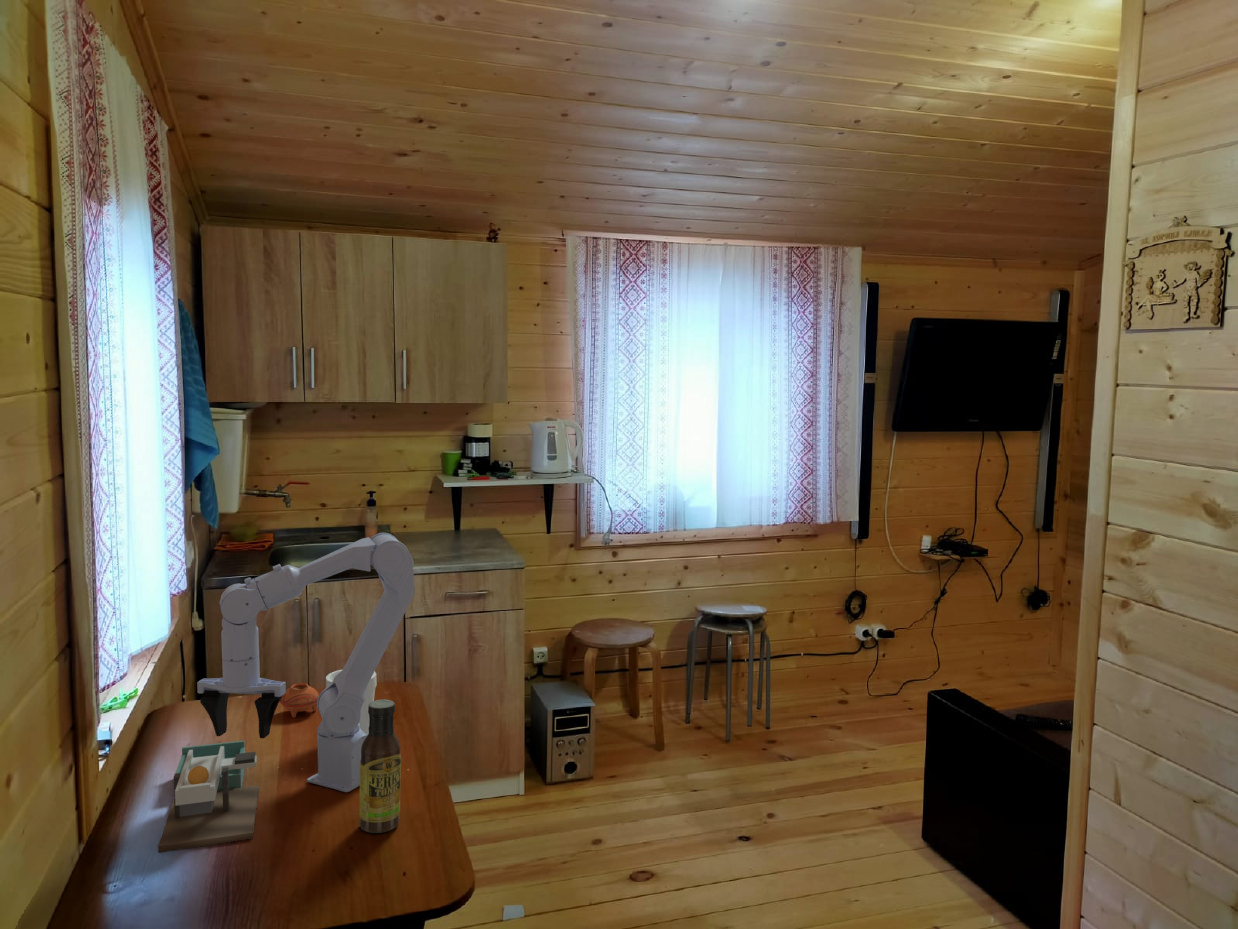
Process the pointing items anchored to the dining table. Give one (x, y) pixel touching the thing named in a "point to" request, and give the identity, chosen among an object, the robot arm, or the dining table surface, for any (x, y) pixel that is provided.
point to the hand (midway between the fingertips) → (242, 735)
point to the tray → (204, 794)
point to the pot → (300, 698)
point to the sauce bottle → (380, 771)
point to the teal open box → (213, 749)
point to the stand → (212, 819)
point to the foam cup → (368, 699)
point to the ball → (198, 775)
